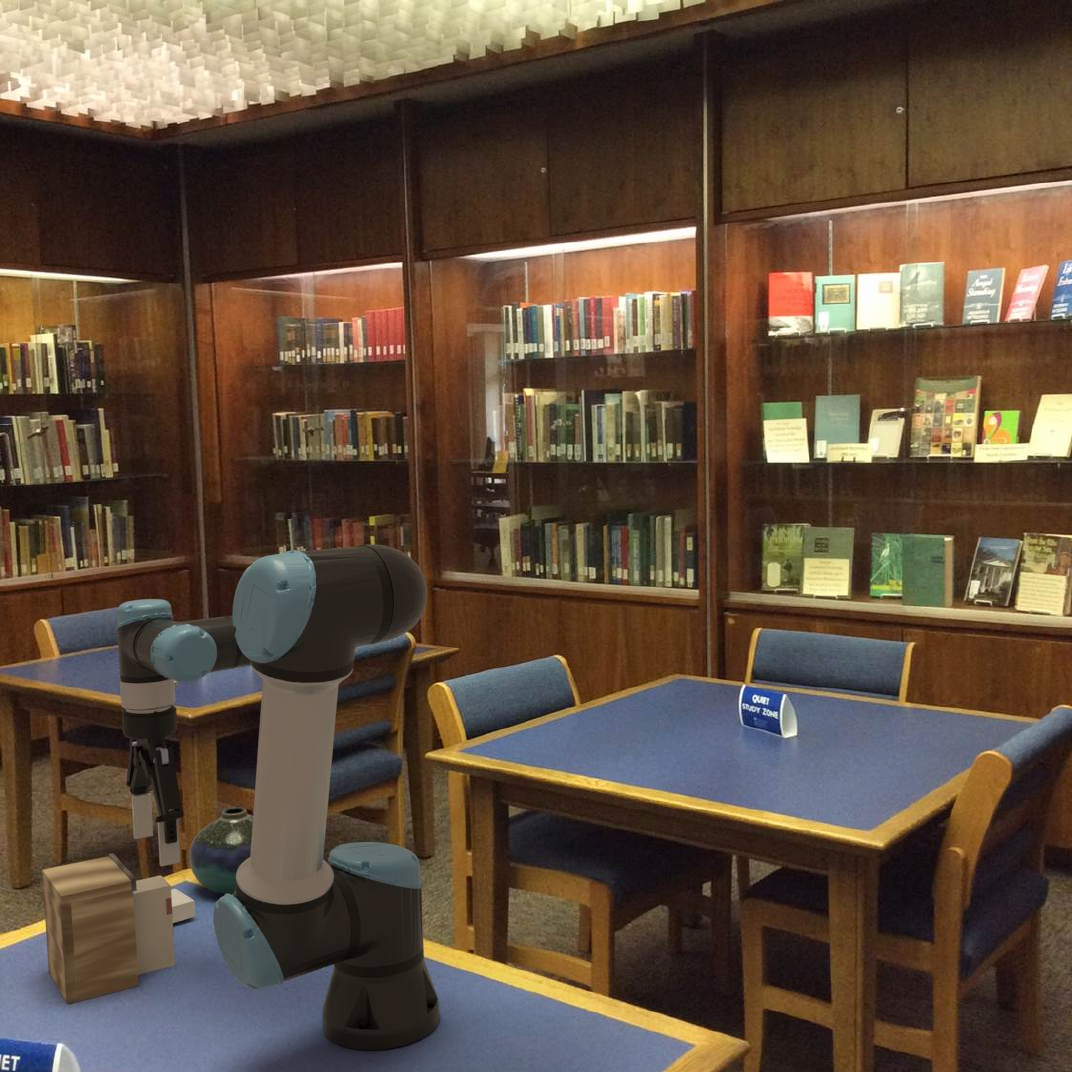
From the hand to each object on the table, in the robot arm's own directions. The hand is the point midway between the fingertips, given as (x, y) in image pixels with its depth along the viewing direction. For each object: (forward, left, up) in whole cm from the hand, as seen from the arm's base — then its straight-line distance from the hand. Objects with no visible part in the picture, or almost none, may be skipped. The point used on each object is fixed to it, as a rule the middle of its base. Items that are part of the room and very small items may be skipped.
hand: (156, 850), depth 180 cm
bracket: (+14, -2, -17) cm, 23 cm away
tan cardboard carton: (0, +4, -17) cm, 17 cm away
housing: (0, +10, -17) cm, 19 cm away
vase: (+22, -19, -17) cm, 33 cm away
